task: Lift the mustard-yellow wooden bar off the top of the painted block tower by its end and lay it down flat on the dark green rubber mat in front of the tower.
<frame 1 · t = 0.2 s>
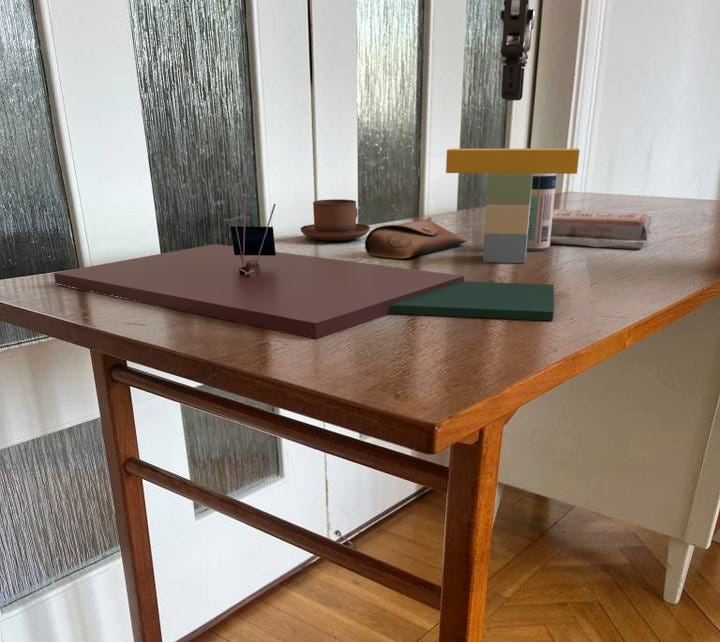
hand: (511, 100, 95), 21 cm above the table, tool pointing down, fingers open, 8 cm apart
sunglasses case: (418, 251, 120), on the table
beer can: (533, 250, 120), on the table
board: (254, 288, 96), on the table, touching mat
packaged product: (590, 243, 125), on the table
mat: (455, 301, 88), on the table
tower: (504, 259, 112), on the table
cup and saucer: (335, 240, 131), on the table
bar: (511, 172, 107), point 12 cm above the table, touching tower
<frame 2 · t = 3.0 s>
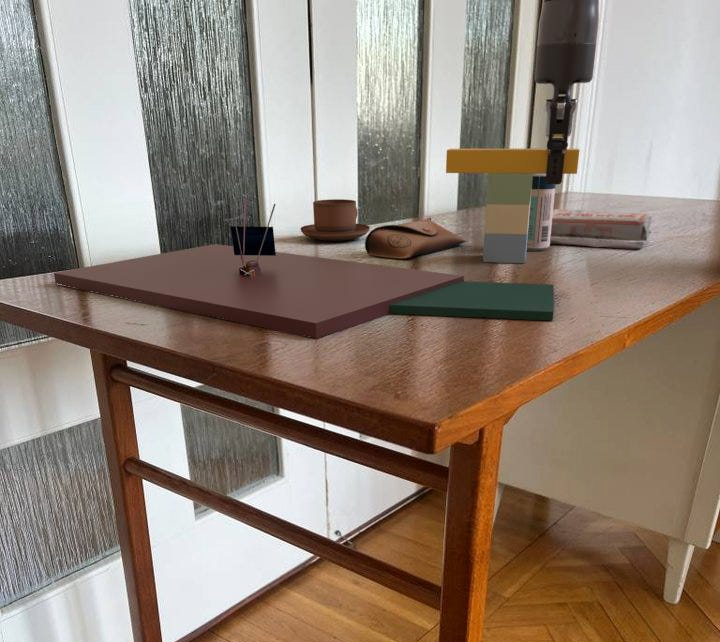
hand: (553, 182, 106), 11 cm above the table, tool pointing down, fingers closed on bar, 4 cm apart
bar: (510, 172, 107), point 12 cm above the table, touching gripper, tower
everything else where it was.
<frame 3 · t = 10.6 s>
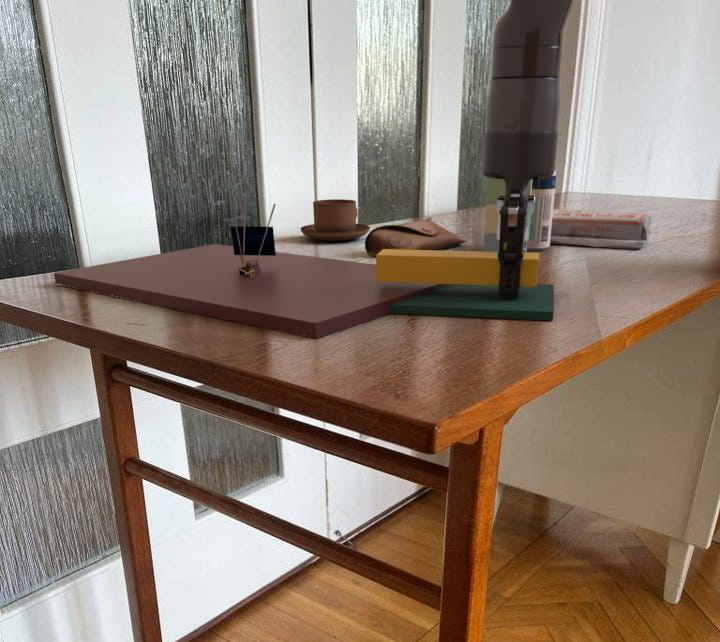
hand: (509, 293, 86), 1 cm above the table, tool pointing down, fingers closed on bar, 4 cm apart
bar: (456, 280, 86), point 2 cm above the table, touching gripper
everything else where it was.
when the fingers open (1 cm above the table, at t = 14.1 s): bar stays where it is, resting on mat, board.
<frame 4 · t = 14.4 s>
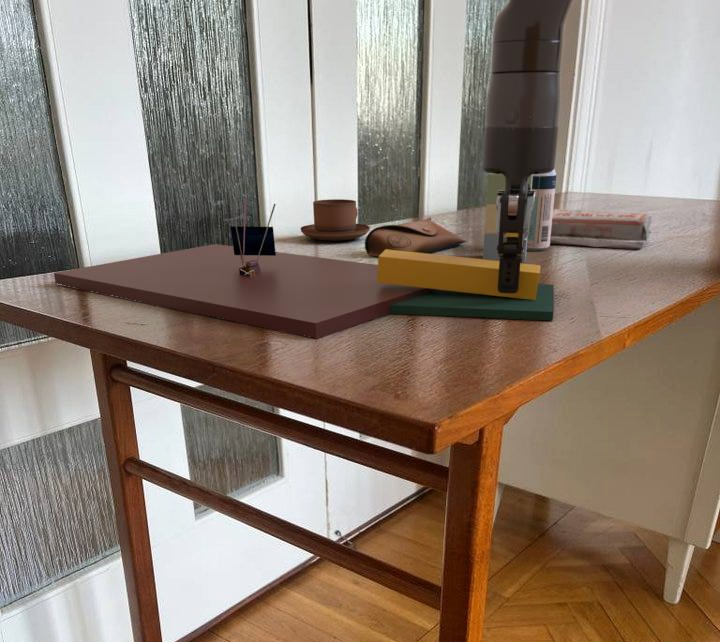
hand: (509, 285, 85), 2 cm above the table, tool pointing down, fingers open, 6 cm apart
board: (254, 288, 96), on the table, touching bar, mat
bar: (456, 287, 87), point 2 cm above the table, touching mat, board
everything else where it was.
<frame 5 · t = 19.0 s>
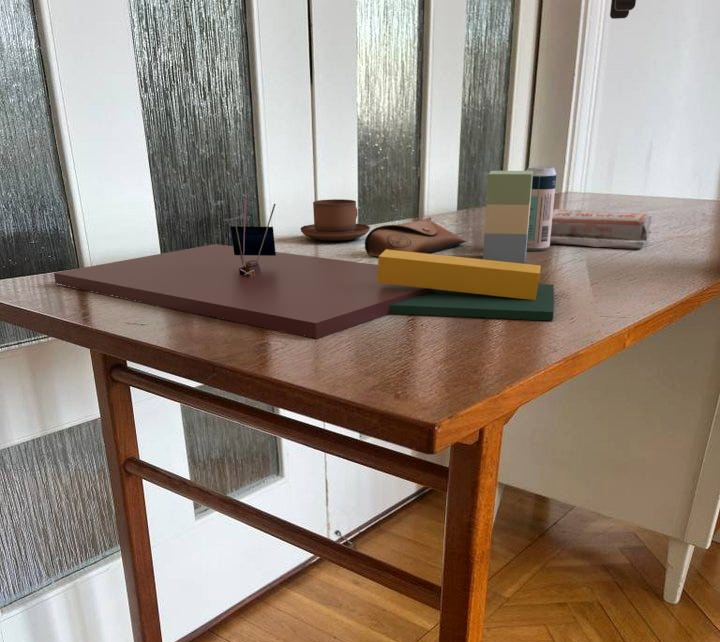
hand: (621, 14, 90), 30 cm above the table, tool pointing down, fingers open, 8 cm apart
nothing on the table moved.
at the end: bar inside the target area on the mat (0.1 cm from its centre), point 1.7 cm above the mat's base; bar touching mat, board; bar tilted 5° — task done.
